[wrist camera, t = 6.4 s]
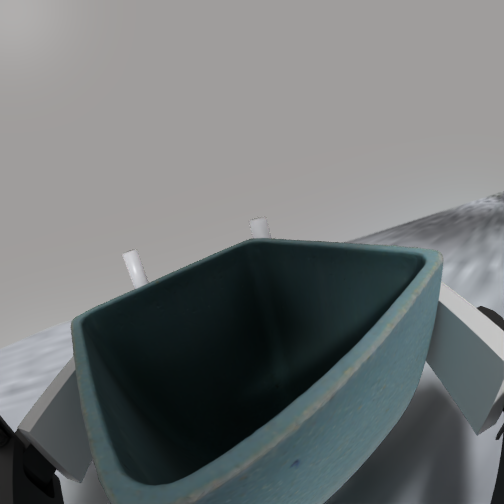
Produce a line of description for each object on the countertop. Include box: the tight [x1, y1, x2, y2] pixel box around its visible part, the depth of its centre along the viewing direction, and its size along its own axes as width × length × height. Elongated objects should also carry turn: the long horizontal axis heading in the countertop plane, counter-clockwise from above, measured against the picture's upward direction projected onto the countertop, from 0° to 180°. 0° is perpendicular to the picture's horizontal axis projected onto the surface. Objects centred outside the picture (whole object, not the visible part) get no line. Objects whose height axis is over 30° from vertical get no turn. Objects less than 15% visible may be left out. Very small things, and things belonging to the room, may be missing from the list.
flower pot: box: [71, 238, 443, 504], centre depth 9 cm, size 9×9×9 cm
